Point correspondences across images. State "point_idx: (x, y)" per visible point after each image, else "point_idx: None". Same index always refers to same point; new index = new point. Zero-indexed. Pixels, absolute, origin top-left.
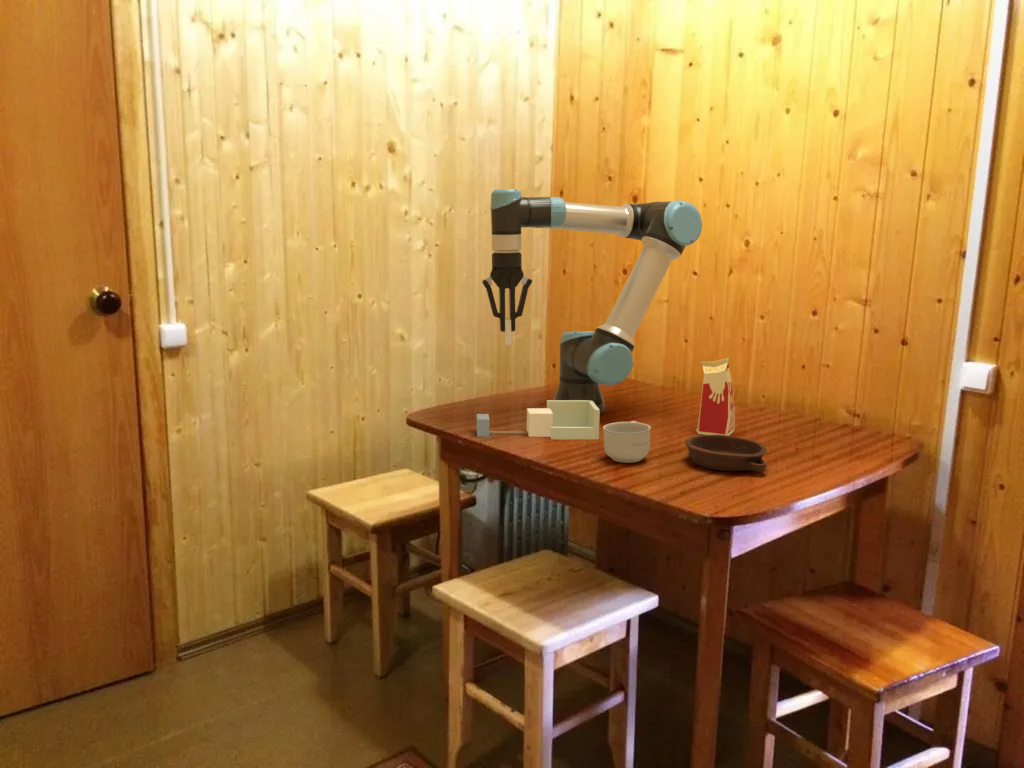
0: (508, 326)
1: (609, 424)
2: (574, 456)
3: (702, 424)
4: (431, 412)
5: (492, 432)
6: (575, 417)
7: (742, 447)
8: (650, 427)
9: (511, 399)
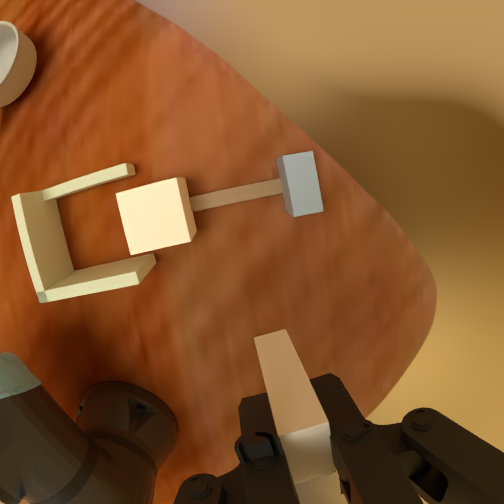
0: (289, 396)
1: (3, 78)
2: (89, 57)
3: None
4: (411, 341)
5: (272, 181)
6: (85, 273)
7: None
8: None
9: None
